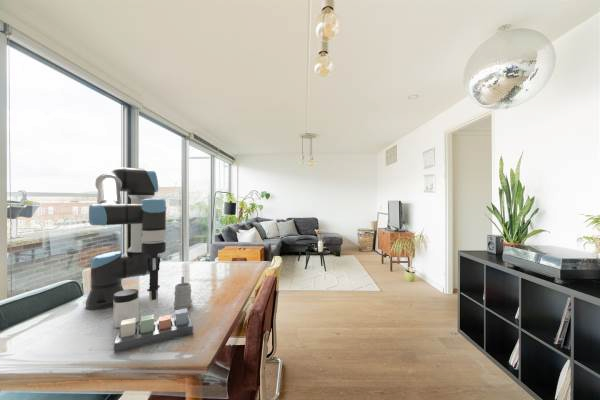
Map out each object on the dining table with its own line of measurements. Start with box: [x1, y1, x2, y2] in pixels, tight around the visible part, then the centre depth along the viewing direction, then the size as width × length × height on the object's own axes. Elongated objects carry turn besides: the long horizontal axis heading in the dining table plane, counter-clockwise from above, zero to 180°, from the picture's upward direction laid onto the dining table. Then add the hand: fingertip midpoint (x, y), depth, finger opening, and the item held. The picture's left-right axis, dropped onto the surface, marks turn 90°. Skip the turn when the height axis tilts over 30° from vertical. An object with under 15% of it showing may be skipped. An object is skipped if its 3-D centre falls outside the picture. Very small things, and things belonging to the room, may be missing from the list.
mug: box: [173, 276, 193, 310], centre depth 119 cm, size 8×12×12 cm, turn 26°
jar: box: [112, 288, 140, 329], centre depth 101 cm, size 9×8×12 cm
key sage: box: [139, 314, 155, 334], centre depth 90 cm, size 4×4×4 cm
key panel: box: [113, 314, 194, 354], centre depth 91 cm, size 11×23×3 cm, turn 119°
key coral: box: [158, 314, 172, 329], centre depth 92 cm, size 4×4×4 cm
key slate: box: [174, 308, 189, 326], centre depth 95 cm, size 4×4×4 cm
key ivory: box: [120, 318, 137, 338], centre depth 87 cm, size 4×4×4 cm
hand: (153, 307), depth 91 cm, fingers closed
